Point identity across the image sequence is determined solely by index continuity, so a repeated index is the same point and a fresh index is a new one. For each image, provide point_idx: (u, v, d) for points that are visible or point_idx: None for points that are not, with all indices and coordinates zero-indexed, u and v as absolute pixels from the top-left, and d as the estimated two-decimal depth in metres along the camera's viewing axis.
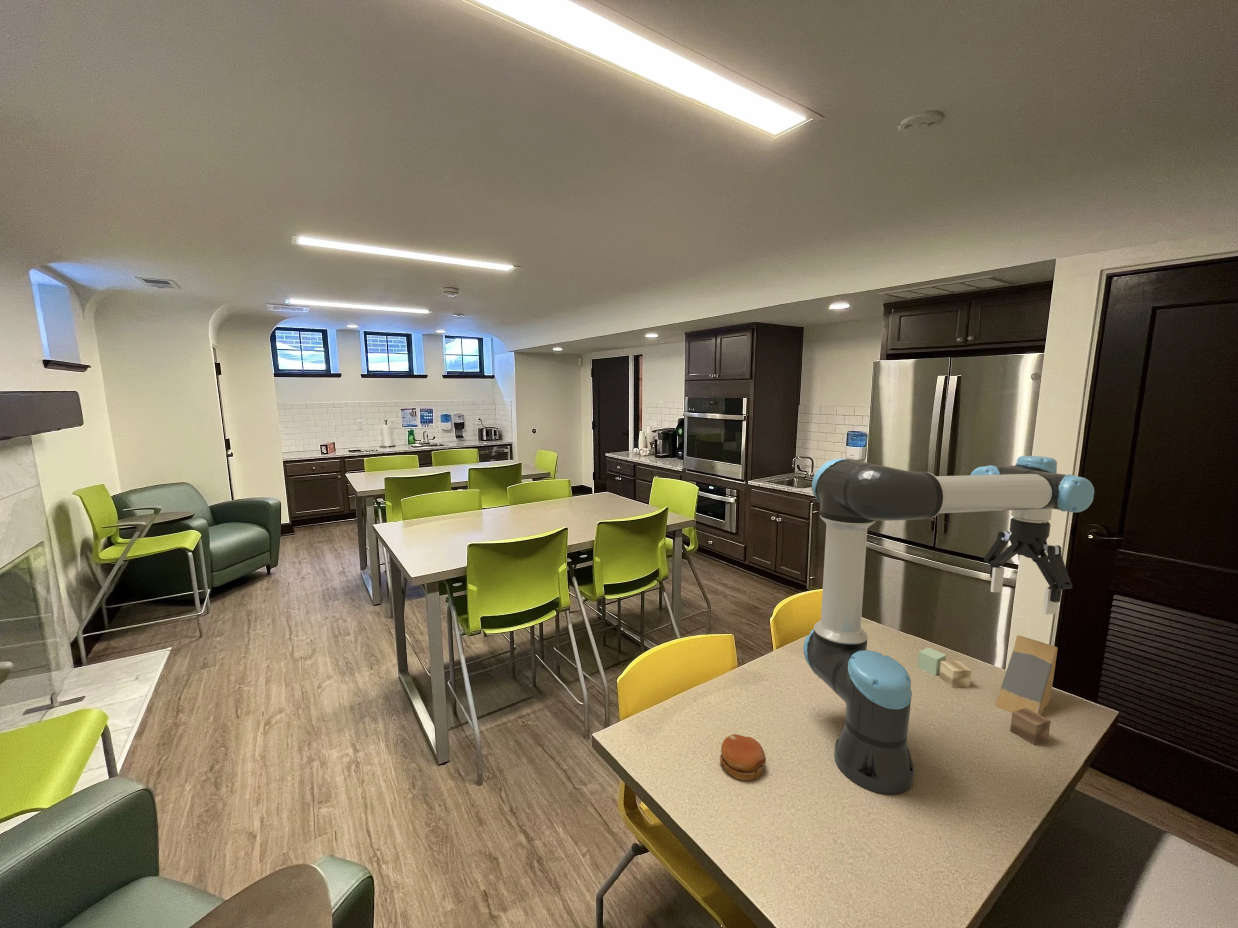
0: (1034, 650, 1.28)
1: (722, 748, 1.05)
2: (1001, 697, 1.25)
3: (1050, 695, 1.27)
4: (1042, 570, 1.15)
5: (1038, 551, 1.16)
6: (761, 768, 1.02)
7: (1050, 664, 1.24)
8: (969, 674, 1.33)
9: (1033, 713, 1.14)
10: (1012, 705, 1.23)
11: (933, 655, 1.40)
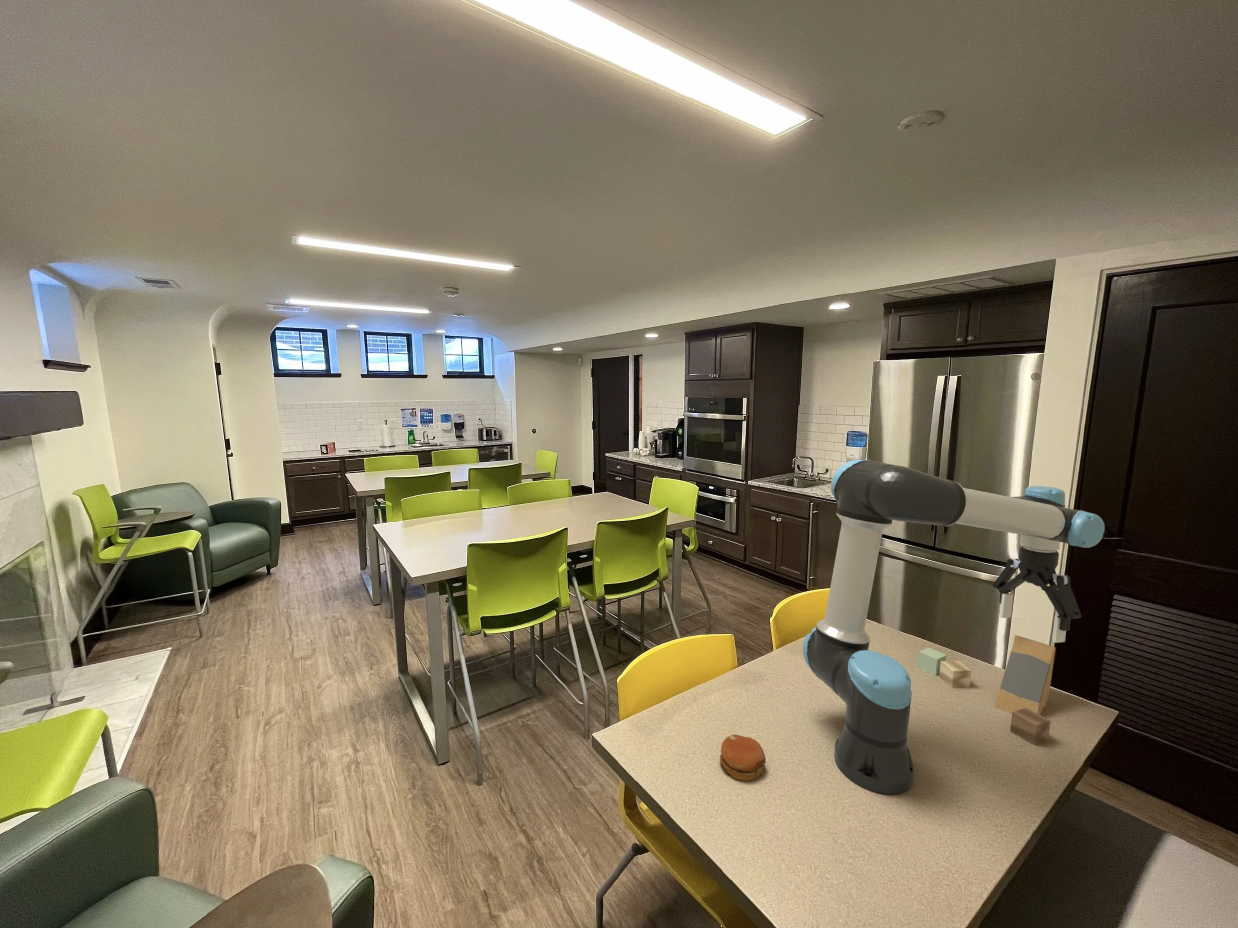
0: (1032, 650, 1.28)
1: (722, 748, 1.05)
2: (1000, 698, 1.25)
3: (1048, 695, 1.27)
4: (1051, 599, 1.18)
5: (1047, 580, 1.19)
6: (761, 768, 1.02)
7: (1048, 664, 1.24)
8: (969, 674, 1.33)
9: (1033, 713, 1.14)
10: (1011, 706, 1.23)
11: (933, 655, 1.40)
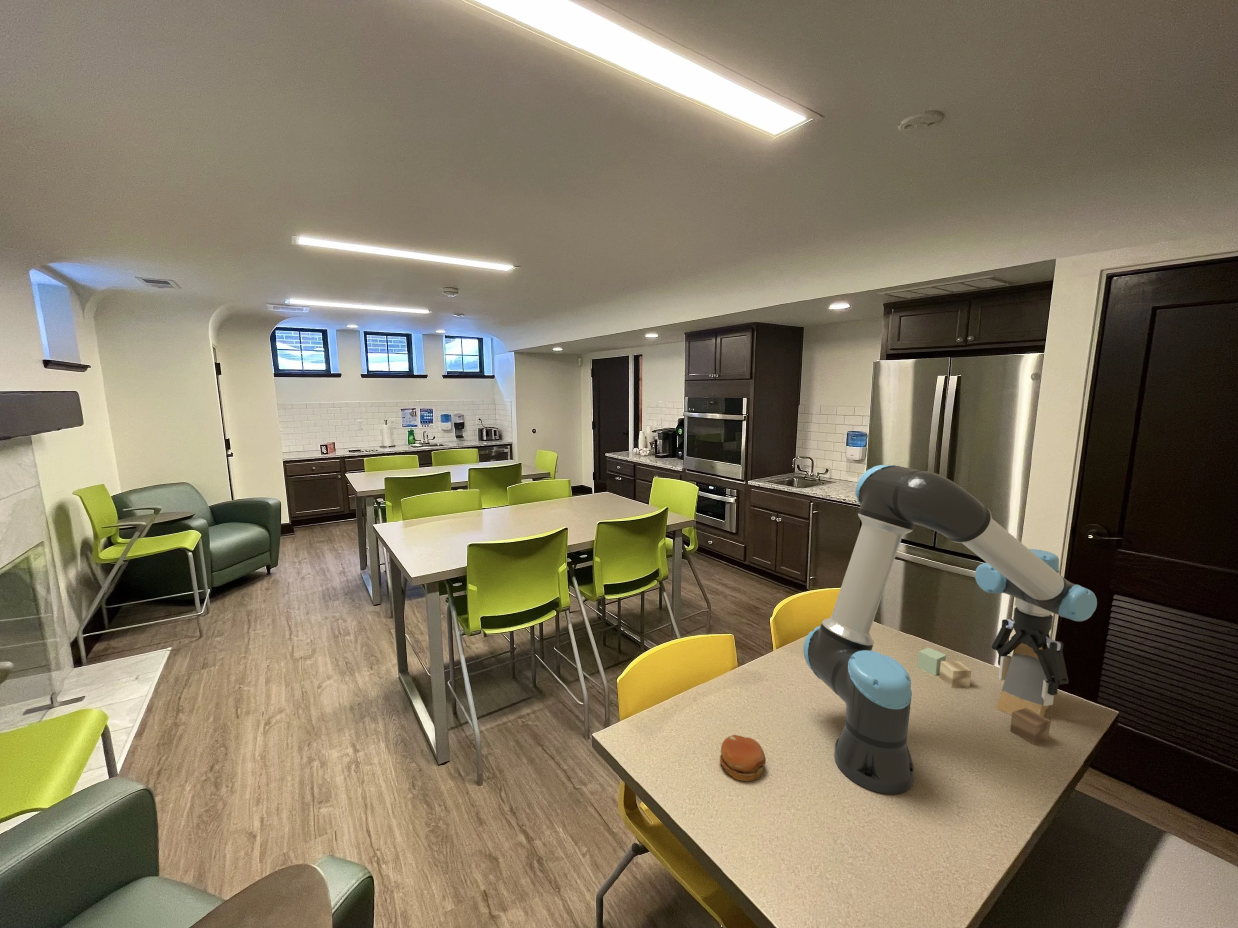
0: (1034, 652, 1.27)
1: (722, 749, 1.05)
2: (1002, 700, 1.24)
3: None
4: (1042, 663, 1.20)
5: (1041, 643, 1.21)
6: (761, 769, 1.02)
7: None
8: (969, 674, 1.33)
9: (1033, 713, 1.14)
10: (1013, 708, 1.22)
11: (933, 655, 1.40)
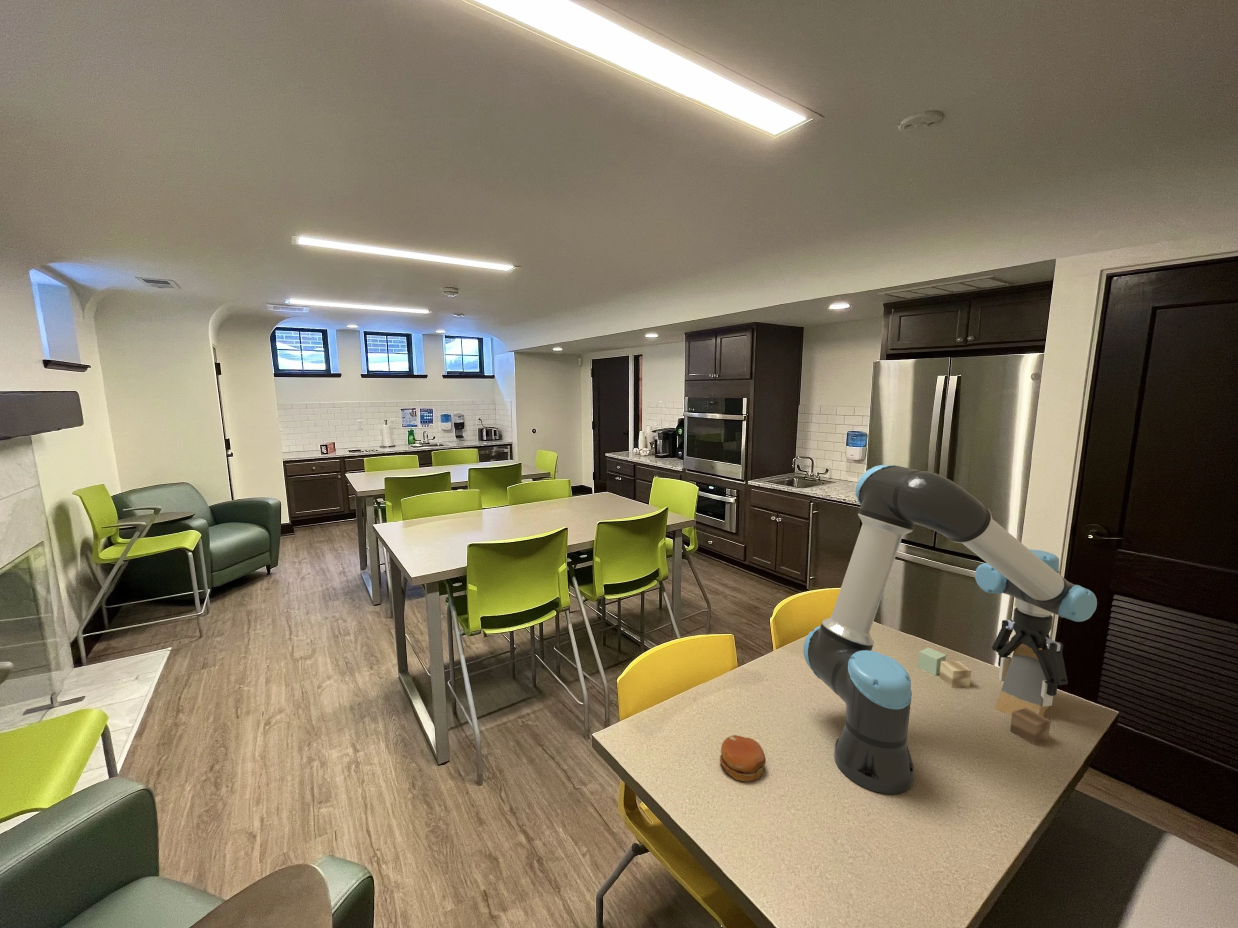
0: None
1: (722, 749, 1.05)
2: (1001, 700, 1.24)
3: None
4: (1041, 663, 1.20)
5: (1041, 644, 1.21)
6: (761, 769, 1.02)
7: None
8: (969, 674, 1.33)
9: (1033, 713, 1.14)
10: (1012, 708, 1.22)
11: (933, 655, 1.40)
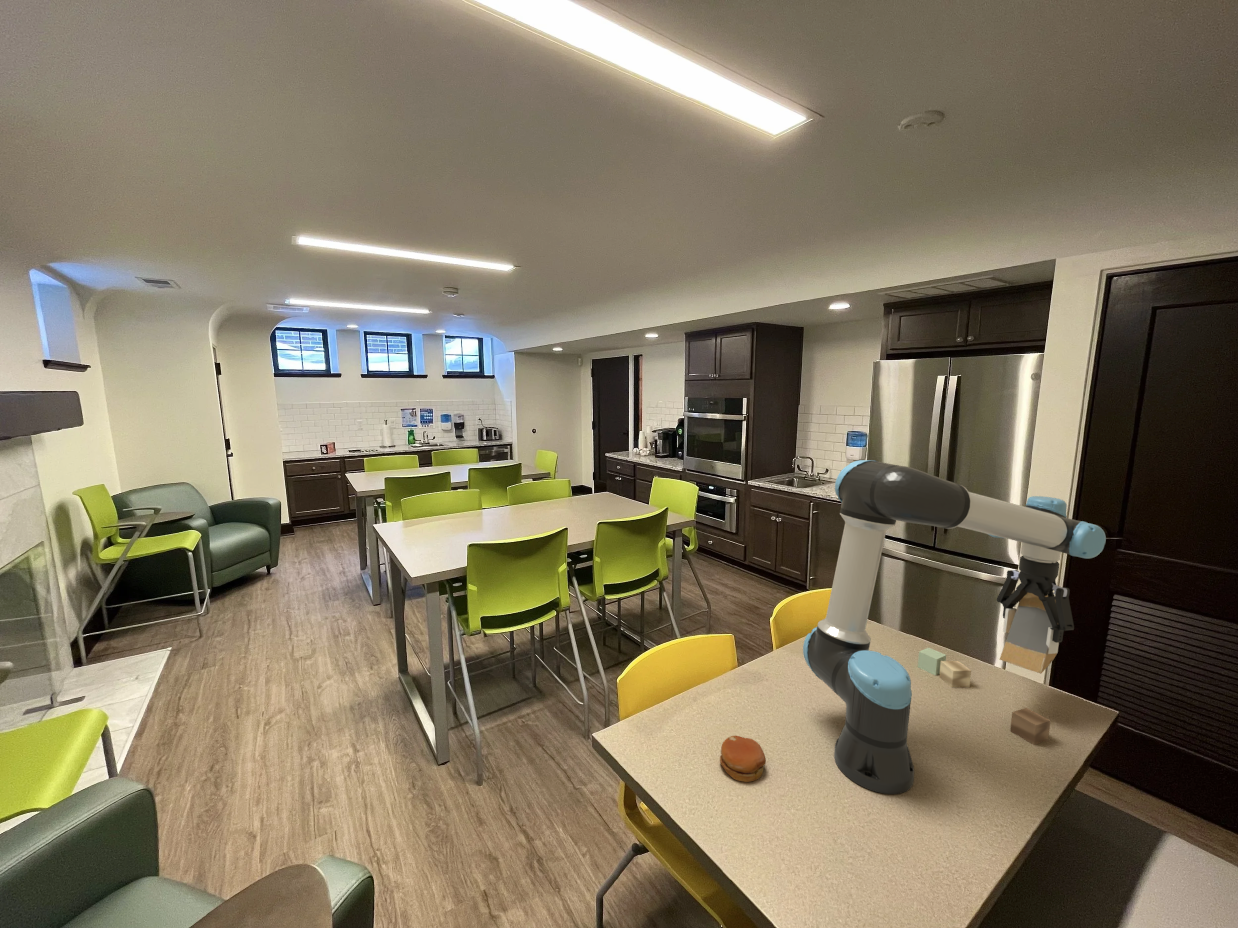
0: (1040, 603, 1.25)
1: (722, 749, 1.04)
2: (1006, 651, 1.22)
3: None
4: (1047, 610, 1.19)
5: (1047, 590, 1.19)
6: (761, 770, 1.02)
7: None
8: (969, 674, 1.33)
9: (1033, 713, 1.14)
10: (1017, 658, 1.20)
11: (933, 655, 1.40)
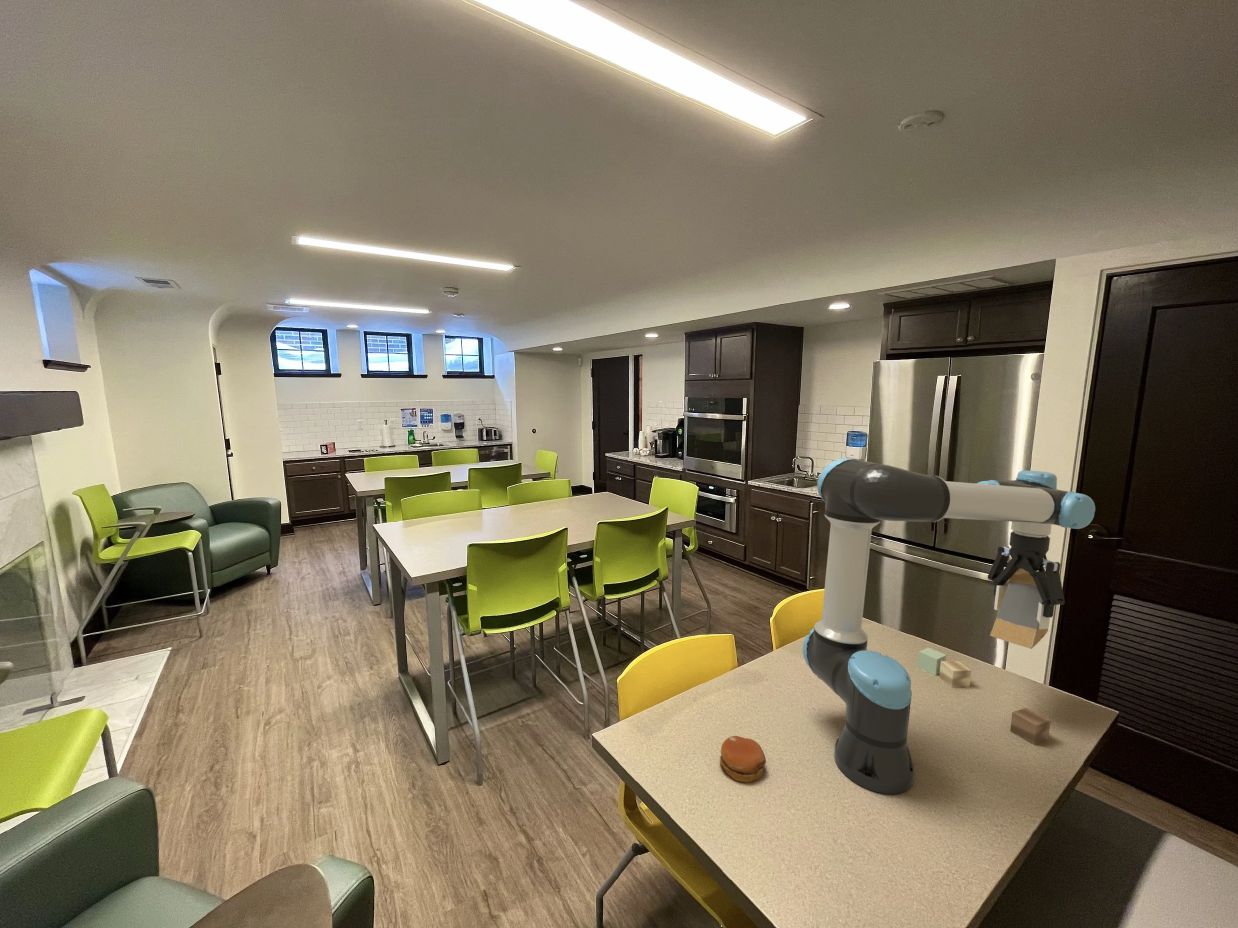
0: (1031, 579, 1.23)
1: (722, 749, 1.04)
2: (996, 627, 1.21)
3: None
4: (1037, 585, 1.17)
5: (1037, 565, 1.18)
6: (761, 770, 1.02)
7: None
8: (969, 674, 1.33)
9: (1033, 713, 1.14)
10: (1008, 634, 1.19)
11: (933, 655, 1.40)
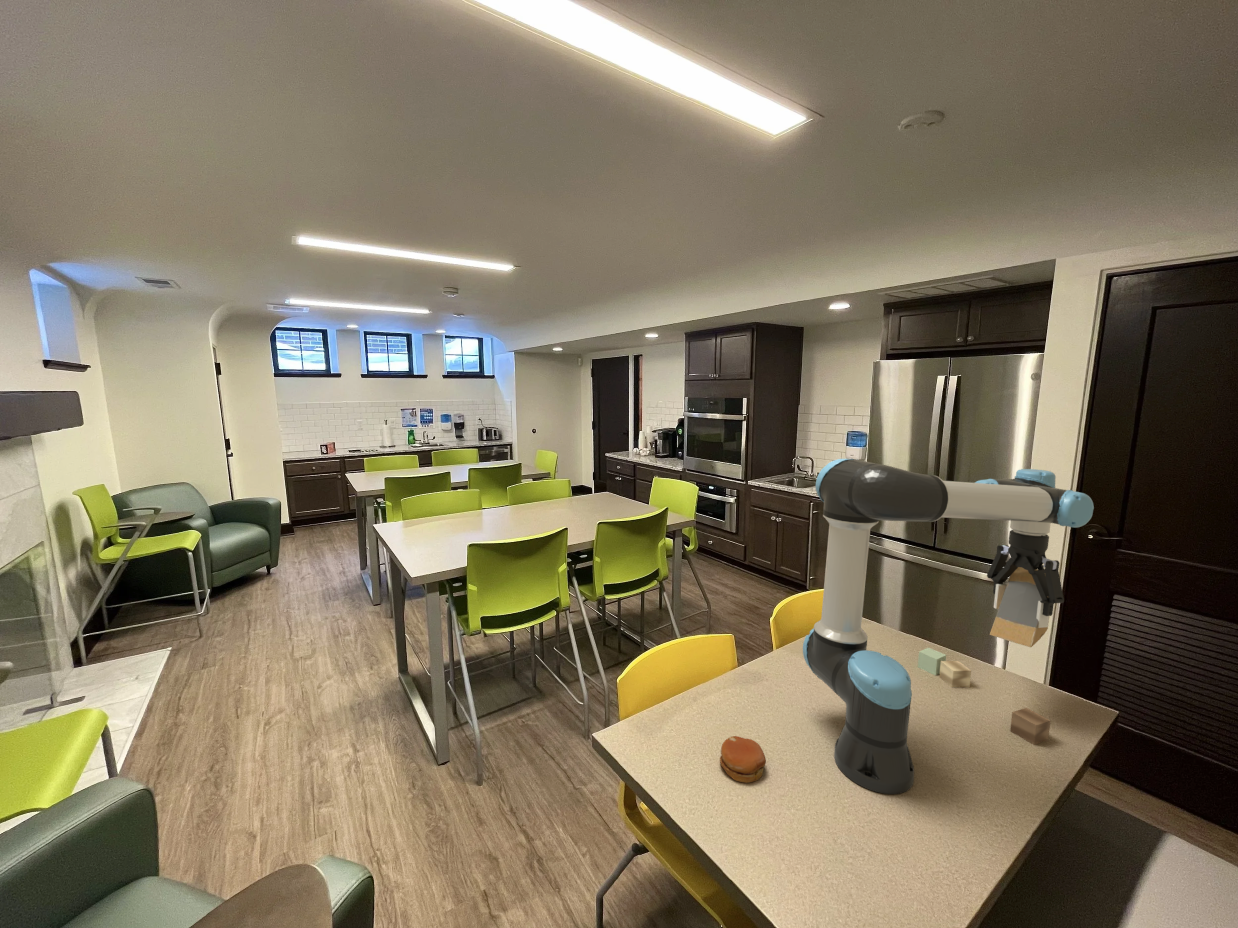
0: (1030, 578, 1.23)
1: (722, 750, 1.04)
2: (996, 626, 1.21)
3: None
4: (1037, 584, 1.17)
5: (1037, 564, 1.17)
6: (761, 770, 1.02)
7: None
8: (969, 674, 1.33)
9: (1033, 713, 1.14)
10: (1007, 632, 1.19)
11: (933, 655, 1.40)
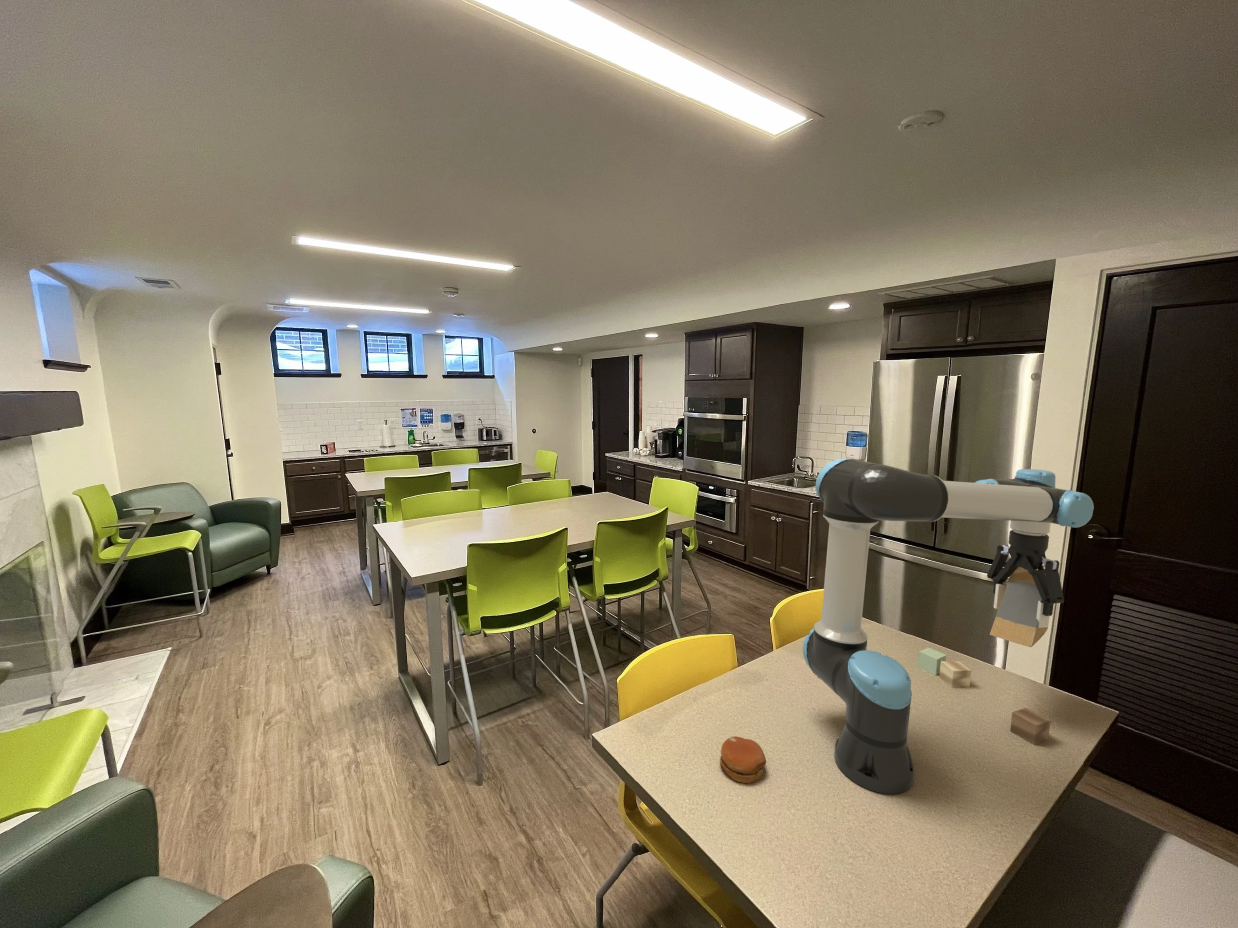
0: (1030, 578, 1.23)
1: (722, 750, 1.04)
2: (996, 626, 1.21)
3: None
4: (1037, 584, 1.17)
5: (1037, 564, 1.17)
6: (761, 771, 1.01)
7: None
8: (969, 674, 1.33)
9: (1033, 713, 1.14)
10: (1007, 632, 1.19)
11: (933, 655, 1.40)
